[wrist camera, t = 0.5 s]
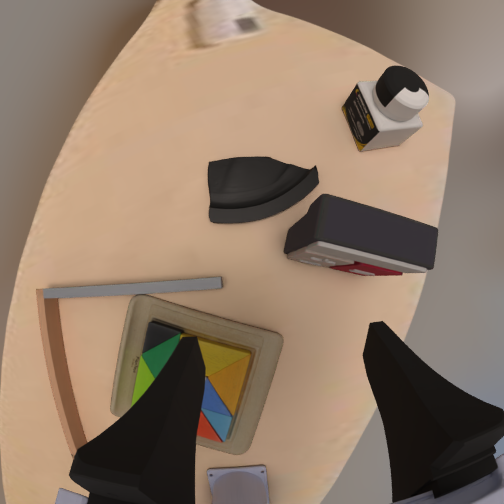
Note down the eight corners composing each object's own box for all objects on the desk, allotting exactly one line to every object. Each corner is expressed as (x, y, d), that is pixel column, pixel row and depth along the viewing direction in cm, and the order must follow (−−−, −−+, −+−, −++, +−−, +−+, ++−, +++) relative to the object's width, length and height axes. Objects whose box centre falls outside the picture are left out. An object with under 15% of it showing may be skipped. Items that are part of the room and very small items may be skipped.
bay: (241, 456, 35) (242, 470, 31) (83, 449, 33) (73, 460, 30) (222, 276, 36) (220, 276, 33) (50, 288, 35) (36, 289, 31)
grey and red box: (281, 259, 37) (311, 249, 22) (288, 224, 37) (322, 191, 22) (365, 278, 37) (434, 278, 22) (371, 244, 38) (440, 228, 23)
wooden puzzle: (136, 290, 36) (126, 292, 33) (285, 332, 37) (290, 338, 33) (113, 411, 35) (104, 421, 31) (248, 450, 35) (249, 463, 32)
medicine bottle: (340, 107, 39) (371, 58, 27) (381, 103, 39) (418, 59, 27) (358, 152, 38) (398, 111, 26) (399, 146, 39) (445, 109, 27)
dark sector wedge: (321, 220, 38) (324, 218, 36) (210, 226, 37) (209, 224, 36) (313, 157, 38) (316, 153, 37) (207, 161, 38) (206, 157, 36)
